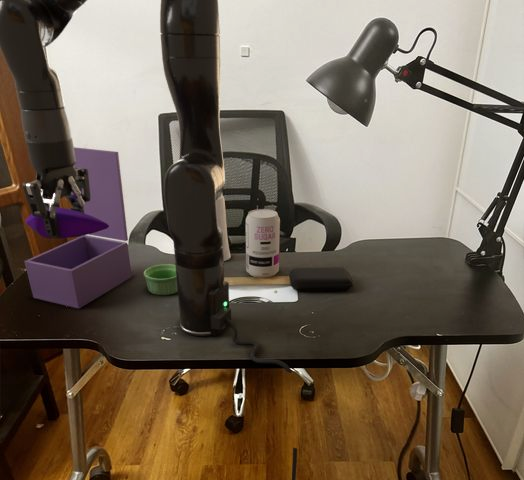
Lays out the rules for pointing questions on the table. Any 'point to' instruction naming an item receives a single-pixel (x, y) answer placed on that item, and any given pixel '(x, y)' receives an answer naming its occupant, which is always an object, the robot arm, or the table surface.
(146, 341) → the table surface
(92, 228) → the purple teardrop shape
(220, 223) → the cosmetic bottle
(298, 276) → the carrying case
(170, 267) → the ramekin
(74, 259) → the file box
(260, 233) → the supplement can
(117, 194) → the lid
